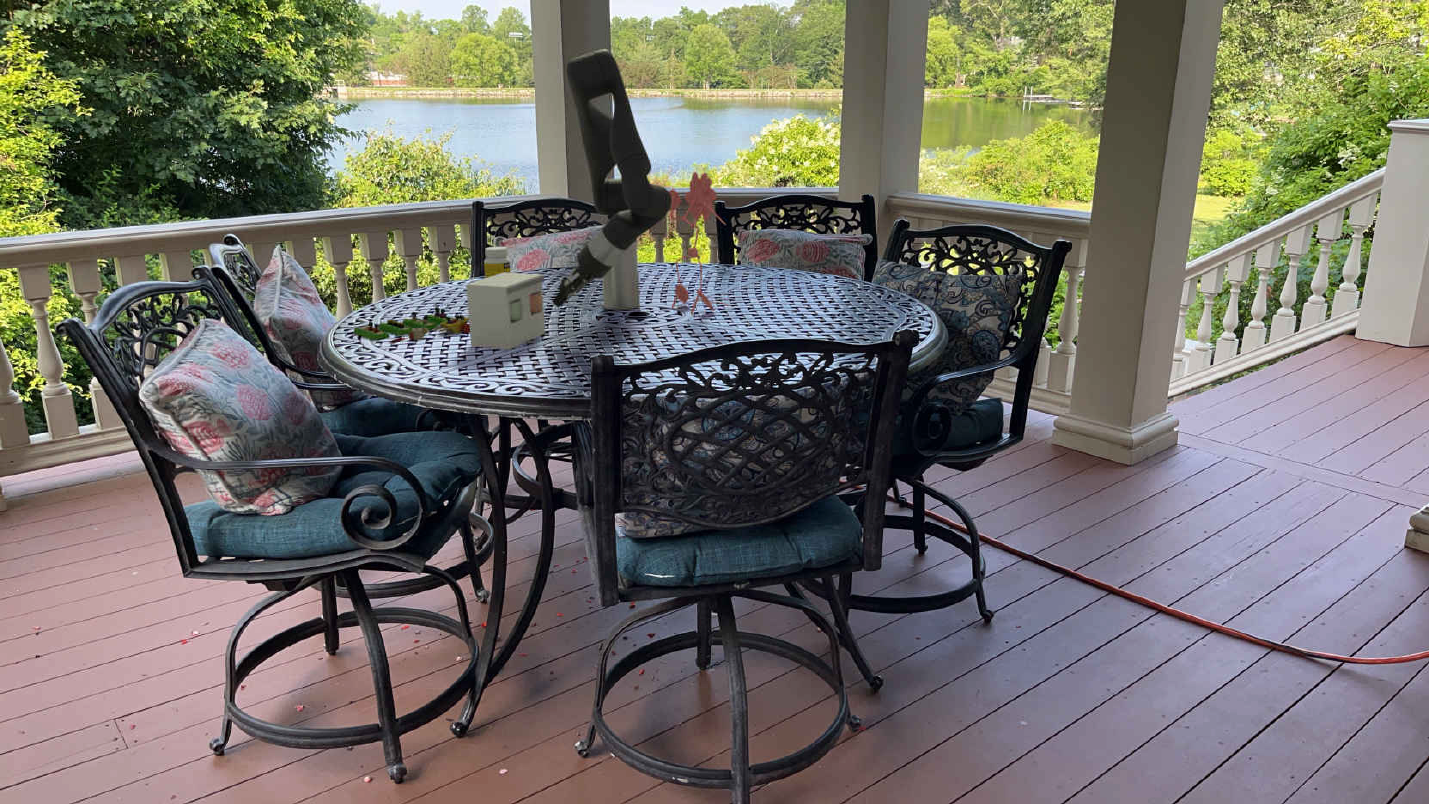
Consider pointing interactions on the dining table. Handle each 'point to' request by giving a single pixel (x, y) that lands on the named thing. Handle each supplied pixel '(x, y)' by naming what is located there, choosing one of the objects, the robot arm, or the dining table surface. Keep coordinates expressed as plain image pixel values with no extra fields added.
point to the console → (504, 310)
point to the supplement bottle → (496, 261)
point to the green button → (515, 310)
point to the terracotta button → (535, 302)
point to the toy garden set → (415, 326)
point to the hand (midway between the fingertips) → (556, 303)
